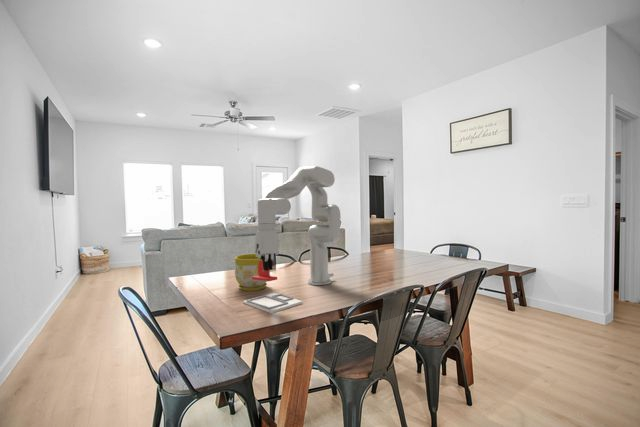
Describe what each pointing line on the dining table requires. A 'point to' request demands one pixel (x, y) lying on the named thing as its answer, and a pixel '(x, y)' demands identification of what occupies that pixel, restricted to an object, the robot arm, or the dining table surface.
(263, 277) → the bracket
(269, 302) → the fitting board
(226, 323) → the dining table surface
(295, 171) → the robot arm
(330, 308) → the dining table surface
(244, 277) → the flowerpot
